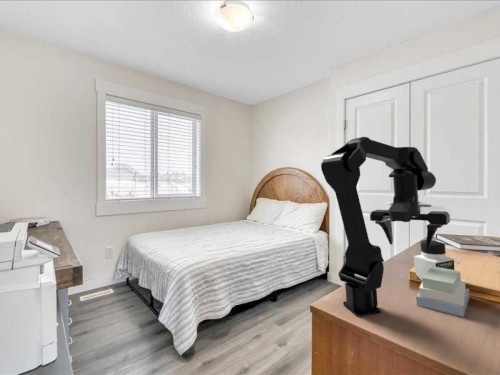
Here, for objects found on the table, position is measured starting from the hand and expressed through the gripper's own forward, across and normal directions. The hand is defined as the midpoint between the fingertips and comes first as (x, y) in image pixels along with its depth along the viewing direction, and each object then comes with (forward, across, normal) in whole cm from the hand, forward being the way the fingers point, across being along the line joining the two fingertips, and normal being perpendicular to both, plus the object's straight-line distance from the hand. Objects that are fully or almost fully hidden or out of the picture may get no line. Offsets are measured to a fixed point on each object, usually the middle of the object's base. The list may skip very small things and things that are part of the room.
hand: (408, 246), depth 72 cm
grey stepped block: (+12, +8, -4) cm, 15 cm away
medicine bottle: (+12, +4, +10) cm, 16 cm away
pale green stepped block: (+8, +8, -4) cm, 12 cm away
